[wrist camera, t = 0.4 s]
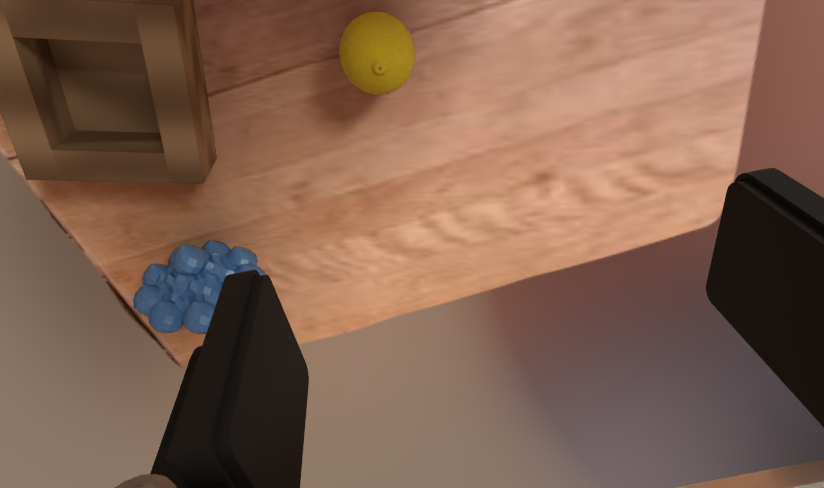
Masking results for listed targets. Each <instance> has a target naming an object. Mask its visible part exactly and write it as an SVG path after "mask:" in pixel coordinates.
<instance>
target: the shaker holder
mask: <svg viewBox="0 0 824 488" xmlns="http://www.w3.org/2000/svg"><path fill="white" fill-rule="evenodd" d="M0 112H1V115H2V118H3V120H4V123H5V125H6V128H7V130H8V133H9V136H10V138H11V141H12V143H13V146H14V149H15V151H16V154H17V156H18V159H19V161H20V164H21V167H22V169H23V172H24V174H25V177H26V180H68V181H118V182H168V183H204V182H205V180H206V178H207V176H208V174H209V172H210V170H211V168H212V166H213V164H214V162H215V160H216V158H217V157H216V151H215V144H214V137H213V131H212V124H211V117H210V111H209V104H208V97H207V91H206V84H205V77H204V71H203V64H202V58H201V51H200V44H199V38H198V31H197V24H196V18H195V11H194V4H193V0H0Z"/></svg>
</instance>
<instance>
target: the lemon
mask: <svg viewBox="0 0 824 488" xmlns="http://www.w3.org/2000/svg"><path fill="white" fill-rule="evenodd" d="M339 59H340V63H341V66H342V69H343V71H344V73H345V75H346V76H347V78H348V80H349V81H350V82H351V83H352V84H353V85H354V86H355V87H357V88H359V89H360V90H362V91H363V92H366V93H370V94H376V95H382V94H387V93H390V92H393V91H395V90H397V89H398V88H399V87H401V86H402V85H403V84H404V83H405V82H406V80H407V79H408V77H409V76H410V74H411V71H412V69H413V66H414V60H415V48H414V43H413V40H412V37H411V34H410V33H409V31H408V30H407V28H406V27H405V25H404V24H403V23H402V22H401V21H399V20H398V19H397V18H396V17H394V16H392V15H390V14H388V13H383V12H379V11H378V12H368V13H365V14H362V15H359V16H358V17H357V18H355V19H354V20H352V21H351V22H350V24H349V25H348V26H347V27H346V28H345V30H344V33H343V35H342V37H341V41H340V46H339Z"/></svg>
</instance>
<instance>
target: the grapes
mask: <svg viewBox="0 0 824 488" xmlns="http://www.w3.org/2000/svg"><path fill="white" fill-rule="evenodd" d="M257 262H258V261H257V258H256V255H255V254H254V253H253V252H252V251H251V250H249V249H246V248H244V247H234V248H233V249H231V250H230V248H229V247H228V246H227V245H226V244H224V243H221V242H219V241H208V242H207V243H206V244H205V245H204V247H203V248H202V249H201V248H198V247H196V246H193V245H181V246H180V247H177V248H176V249H175V250H174V251H173V252H172V254H171V255H170V258H169V261H168V263H169V265H168V266H166V265H163V264H151V265H150V266H149V267H148V268H147V269H146V271H145V272H144V275H143V278H142V280H143V286H142V287H140V288H139V290H138V291H137V292H136V294H135V296H134V299H133V303H134V308H135V309H136V310H137V311H138V312H139V313H141V314H144V315H147V316H148V318H149V323H150V325H151V326H152V327H153V328H154V329H155V330H156V331H159V332H162V333H172V332H175V331H177V330H179V329H180V328H181V326H182V325H183V324H184V326H185V327H186V328H187V329H188V330H189V331H191V332H194V333H197V334H206V333H207V330H208V327H209V324H210V321H211V318H212V315H213V312H214V309H215V306H216V303H217V300H218V297H219V294H220V291H221V288H222V285H223V282H224V279H225V277H226V276H227V275H229V274H234V273H239V272H244V271H249V270H257V271H258V272H259V274H260V276H261V275H265V272H264V271H263V270H262V269H261V268H260V267H257V266H256V265H257Z"/></svg>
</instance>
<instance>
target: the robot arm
mask: <svg viewBox="0 0 824 488" xmlns="http://www.w3.org/2000/svg"><path fill="white" fill-rule="evenodd" d="M706 292H707V296H708V298H709V300H710V301H711V303H712V304H713V305H714V306H715V307H716V309H717V310H718V311H719V312H720V313H721V314H722V315H723V316H724V317H725V318H726V320H727V321H728V322H729V323H730V324H731V325H732V326H733V327H734V329H735V330H736V331H737V332H738V333H739V334H740V335H741V336H742V337H743V338H744V339H745V341H746V342H747V343H748V344H749V345H750V346H751V347H752V348H753V349H754V351H755V352H756V353H757V354H758V355H759V356H760V357H761V358H762V359H763V361H764V362H765V363H766V364H767V365H768V366H769V367H770V368H771V369H772V371H773V372H774V373H775V374H776V375H777V376H778V377H779V378H780V379H781V381H782V382H783V383H784V384H785V385H786V386H787V387H788V388H789V389H790V390H791V392H792V393H793V394H794V395H795V396H796V397H797V398H798V399H799V400H800V401H801V403H802V404H803V405H804V406H805V407H806V408H807V409H808V410H809V411H810V412H811V414H812V415H813V416H814V417H815V418H816V419H817V420H818V421H819V422H820V424H821V425H822V426H823V427H824V198H823V197H821V196H819V195H818V194H816V193H815V192H813V191H811V190H810V189H808V188H807V187H805V186H803V185H802V184H800V183H799V182H797V181H795V180H794V179H792V178H790V177H789V176H787V175H786V174H784V173H783V172H781V171H779V170H777V169H775V168H768V169H763V170H758V171H753V172H748V173H743V174H741V175H739V176H738V177H737V178H736V179H735V182H734V183H732V184H730V186H729V187H728V189H727V193H726V198H725V202H724V207H723V211H722V216H721V220H720V225H719V230H718V234H717V239H716V244H715V248H714V252H713V257H712V261H711V266H710V270H709V275H708V279H707V284H706ZM308 383H309V376H308V369H307V365H306V362H305V360H304V358H303V355H302V353H301V350H300V348H299V346H298V343H297V341H296V339H295V336H294V334H293V331H292V329H291V327H290V324H289V322H288V319H287V317H286V315H285V312H284V310H283V308H282V305H281V303H280V300H279V298H278V296H277V293H276V291H275V288H274V286H273V284H272V281H271V279H270V277H269V276H268V275H261V276H260V274H259V272H258V271H257V270H249V271H244V272H239V273H234V274H229V275H227V276H226V277H225V279H224V282H223V285H222V288H221V291H220V294H219V297H218V300H217V303H216V306H215V309H214V312H213V315H212V318H211V321H210V324H209V327H208V330H207V333H206V336H205V339H204V343H203V346H200V347H197V348H196V349H195V350H194V352H193V354H192V356H191V358H190V361H189V364H188V367H187V369H186V372H185V375H184V378H183V381H182V384H181V387H180V390H179V393H178V396H177V399H176V401H175V404H174V407H173V410H172V413H171V416H170V419H169V422H168V424H167V428H166V430H165V433H164V436H163V439H162V442H161V445H160V447H159V450H158V453H157V456H156V459H155V462H154V465H153V468H152V471H151V473H150V474H147V475H140V476H137V477H135V478H132V479H130V480H127V481H124V482H123V483H121V484H120V485H118V486H117V487H115V488H300V479H301V467H302V455H303V443H304V431H305V419H306V407H307V395H308ZM677 488H824V460H820V461H815V462H809V463H804V464H798V465H793V466H788V467H783V468H777V469H772V470H766V471H761V472H756V473H750V474H745V475H740V476H735V477H729V478H724V479H719V480H714V481H708V482H703V483H698V484H693V485H688V486H682V487H677Z"/></svg>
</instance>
